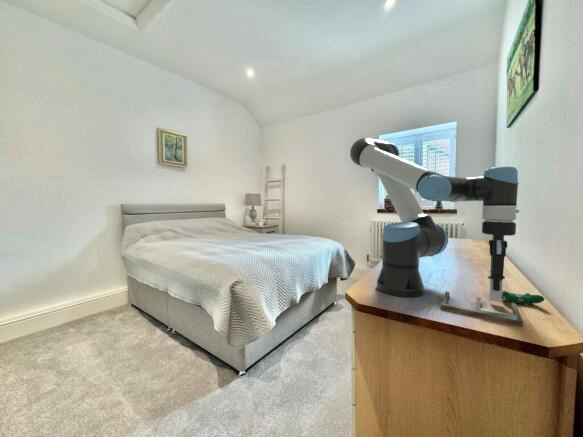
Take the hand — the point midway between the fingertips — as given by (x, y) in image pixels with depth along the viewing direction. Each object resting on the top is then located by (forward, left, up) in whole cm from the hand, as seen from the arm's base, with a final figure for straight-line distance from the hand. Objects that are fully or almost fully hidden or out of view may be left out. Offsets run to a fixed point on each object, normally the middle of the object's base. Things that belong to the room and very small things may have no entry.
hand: (495, 300), depth 72 cm
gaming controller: (+6, +2, +1) cm, 7 cm away
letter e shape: (-4, -6, -1) cm, 8 cm away
